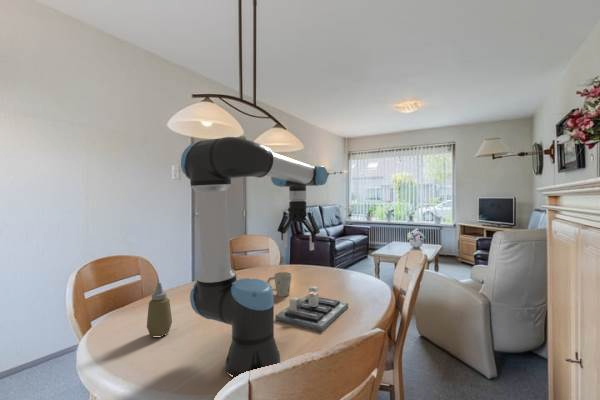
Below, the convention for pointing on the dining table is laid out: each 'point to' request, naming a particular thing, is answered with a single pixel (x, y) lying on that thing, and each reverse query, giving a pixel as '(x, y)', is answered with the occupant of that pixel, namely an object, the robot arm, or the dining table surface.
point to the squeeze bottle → (159, 313)
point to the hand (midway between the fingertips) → (298, 248)
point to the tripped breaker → (313, 299)
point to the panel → (312, 312)
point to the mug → (281, 283)
